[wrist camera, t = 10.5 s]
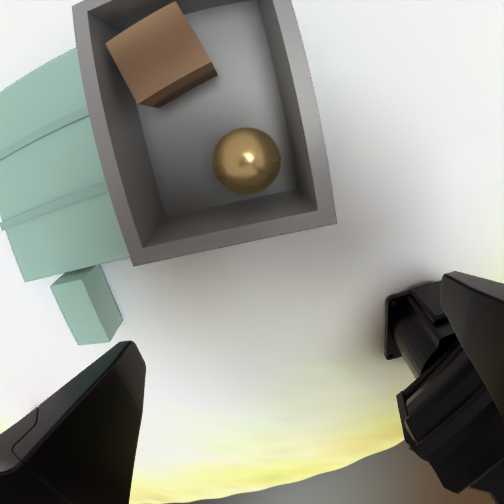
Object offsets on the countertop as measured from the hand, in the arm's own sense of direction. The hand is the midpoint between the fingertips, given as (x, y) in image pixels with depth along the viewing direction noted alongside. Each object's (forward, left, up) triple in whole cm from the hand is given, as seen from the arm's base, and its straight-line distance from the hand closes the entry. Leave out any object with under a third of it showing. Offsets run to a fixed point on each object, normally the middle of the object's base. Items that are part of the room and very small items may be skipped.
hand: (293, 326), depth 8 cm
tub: (+7, +2, -13) cm, 15 cm away
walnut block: (+10, +3, -12) cm, 16 cm away
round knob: (+4, 0, -12) cm, 13 cm away
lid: (+4, +14, -13) cm, 19 cm away
